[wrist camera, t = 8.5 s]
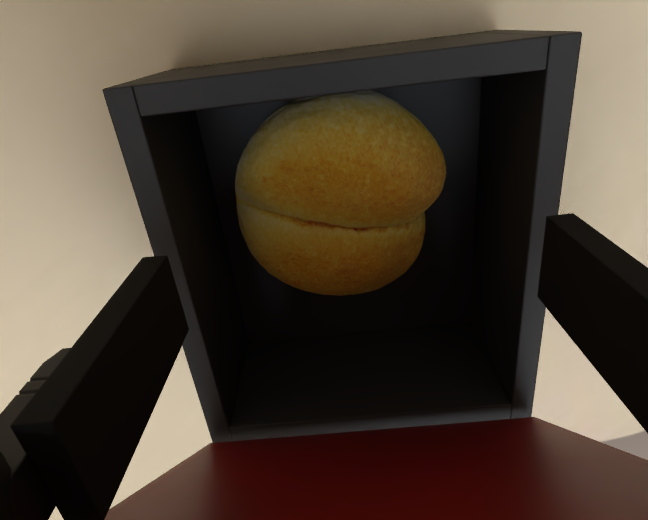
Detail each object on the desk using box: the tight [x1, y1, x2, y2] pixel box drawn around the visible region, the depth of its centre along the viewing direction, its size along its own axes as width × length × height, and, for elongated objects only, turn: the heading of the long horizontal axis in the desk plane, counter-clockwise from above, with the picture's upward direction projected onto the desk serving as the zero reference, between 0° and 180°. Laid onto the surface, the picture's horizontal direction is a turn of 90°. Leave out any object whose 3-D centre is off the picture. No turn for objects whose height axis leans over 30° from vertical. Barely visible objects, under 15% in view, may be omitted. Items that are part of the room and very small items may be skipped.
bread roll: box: [235, 90, 446, 296], centre depth 18 cm, size 8×9×4 cm
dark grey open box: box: [103, 30, 582, 443], centre depth 19 cm, size 15×14×7 cm
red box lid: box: [104, 417, 648, 520], centre depth 12 cm, size 16×14×1 cm
